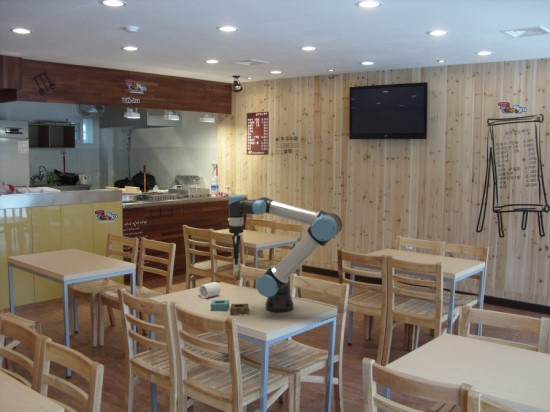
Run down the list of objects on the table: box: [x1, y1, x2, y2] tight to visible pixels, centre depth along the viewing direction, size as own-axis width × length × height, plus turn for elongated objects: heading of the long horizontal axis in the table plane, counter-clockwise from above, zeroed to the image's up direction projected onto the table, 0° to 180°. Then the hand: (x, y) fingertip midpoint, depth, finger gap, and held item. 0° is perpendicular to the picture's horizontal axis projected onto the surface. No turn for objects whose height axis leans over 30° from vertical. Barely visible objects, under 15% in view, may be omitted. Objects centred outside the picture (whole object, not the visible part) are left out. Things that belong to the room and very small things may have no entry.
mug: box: [198, 281, 222, 299], centre depth 337 cm, size 12×10×8 cm
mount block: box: [229, 302, 249, 316], centre depth 302 cm, size 9×9×4 cm
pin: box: [232, 252, 241, 281], centre depth 300 cm, size 4×4×14 cm
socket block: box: [210, 299, 230, 312], centre depth 310 cm, size 9×9×4 cm
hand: (236, 269), depth 301 cm, fingers closed on pin, 3 cm apart
